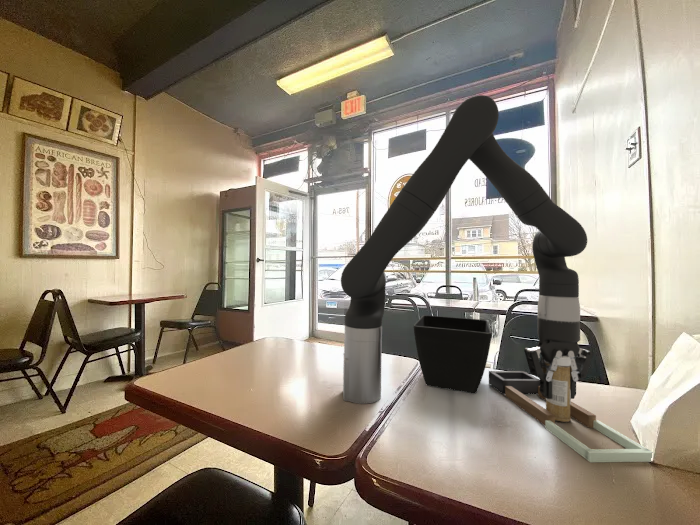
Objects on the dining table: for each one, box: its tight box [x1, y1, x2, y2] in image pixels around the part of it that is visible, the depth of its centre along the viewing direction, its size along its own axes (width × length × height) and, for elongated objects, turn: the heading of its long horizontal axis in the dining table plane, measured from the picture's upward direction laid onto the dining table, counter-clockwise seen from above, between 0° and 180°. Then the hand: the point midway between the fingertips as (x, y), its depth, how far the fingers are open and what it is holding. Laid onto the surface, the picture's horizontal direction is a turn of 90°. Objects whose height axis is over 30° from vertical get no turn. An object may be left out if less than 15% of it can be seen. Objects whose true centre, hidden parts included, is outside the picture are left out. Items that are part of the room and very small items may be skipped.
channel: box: [504, 386, 597, 429], centre depth 67 cm, size 10×15×2 cm, turn 2°
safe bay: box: [544, 419, 654, 463], centre depth 54 cm, size 11×10×2 cm
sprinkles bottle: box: [545, 356, 572, 423], centre depth 63 cm, size 5×5×13 cm
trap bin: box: [488, 370, 540, 395], centre depth 79 cm, size 10×7×4 cm
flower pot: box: [413, 314, 493, 394], centre depth 83 cm, size 19×19×17 cm
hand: (557, 396), depth 63 cm, fingers closed on sprinkles bottle, 4 cm apart
